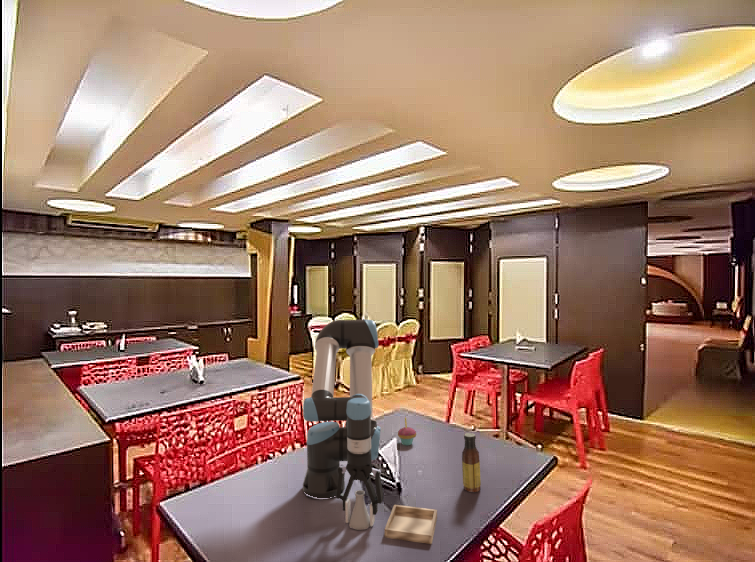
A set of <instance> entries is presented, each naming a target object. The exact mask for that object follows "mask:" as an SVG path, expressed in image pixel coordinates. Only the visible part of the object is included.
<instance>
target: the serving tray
mask: <svg viewBox="0 0 755 562" xmlns="http://www.w3.org/2000/svg"><path fill="white" fill-rule="evenodd" d="M437 521H438V509H432V508H425V507H418V506H409V505H401V504H394V505H393V506H392V509H391V511H390V515H389V517H388V519H387V522H386V523H385V526H384V527H385V528H384V529H383V530H384V538H386V539H391V540H398V541H399V540H400V541H405V542H412V543H420V544H428V545H433V540H434V537H435V536H434V535H435V531H436V525H437Z"/></svg>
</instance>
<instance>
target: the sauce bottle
mask: <svg viewBox="0 0 755 562" xmlns="http://www.w3.org/2000/svg"><path fill="white" fill-rule="evenodd" d="M476 437H477V436H476V434H475V433H472V432H466V433H464V435H463V439H464V448H463V450H462V452H461V453H462V454H461V463H462V464H461V465H462V466H461V469H462V485H463V489H464V490H465V491H466V492H468V493H478V492H480V490H481V485H482V484H481V483H482V482H481V481H482V480H481V466H480V465H481V463H480V462H481V461H480V452H479V450H478V447H477V446H476Z"/></svg>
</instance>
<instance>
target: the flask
mask: <svg viewBox="0 0 755 562" xmlns="http://www.w3.org/2000/svg"><path fill="white" fill-rule="evenodd" d="M365 492H366V491H365V490H362V489H359V490H358V489H357V490H356V491H354V495H355V501H354V506H353V509H352V511H351V514H350V516H351V517H350V520H349V522H348V524H349V525H348V526H350V527H349V528H350V529H354V530H356V531H362V530H367V529H369V527H371V526H370V513H369V511H368V509H367V506H366V502H365V495H366V493H365Z"/></svg>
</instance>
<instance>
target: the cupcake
mask: <svg viewBox="0 0 755 562" xmlns="http://www.w3.org/2000/svg"><path fill="white" fill-rule="evenodd" d="M407 425H408V423H407V417H406V415H405V417H404V426H405V427H401V428H400V429H399V430H398V432H397V436H398V437H399V439H400V442H401V444H402V445H403V446H411V445H412V444H413V441H414V438H416V436H417V431H416V430H415V429H414V428H412V427H409V426H407Z"/></svg>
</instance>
